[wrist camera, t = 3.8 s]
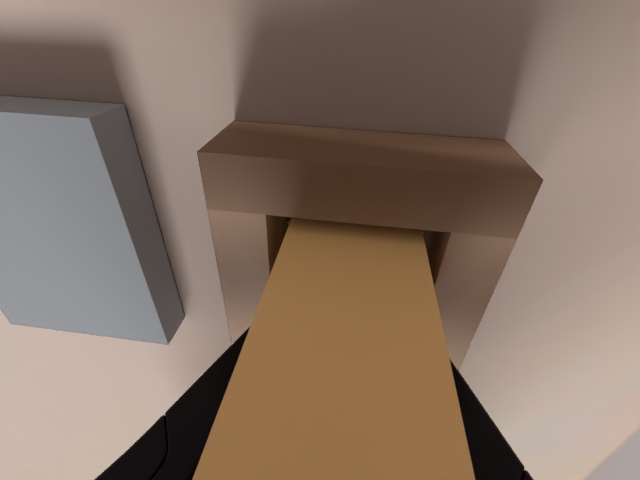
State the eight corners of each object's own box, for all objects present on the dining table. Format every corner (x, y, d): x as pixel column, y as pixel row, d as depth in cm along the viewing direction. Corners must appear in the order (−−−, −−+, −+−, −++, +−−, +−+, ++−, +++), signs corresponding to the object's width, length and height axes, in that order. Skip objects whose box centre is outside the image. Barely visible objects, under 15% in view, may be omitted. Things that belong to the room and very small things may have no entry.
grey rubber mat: (184, 317, 15) (168, 344, 14) (39, 298, 16) (11, 323, 14) (124, 104, 10) (89, 118, 9) (-90, 89, 10) (-151, 100, 9)
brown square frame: (433, 344, 14) (444, 402, 12) (256, 322, 15) (237, 373, 13) (505, 140, 9) (543, 179, 7) (233, 120, 10) (197, 151, 8)
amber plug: (392, 302, 13) (416, 687, 6) (302, 292, 13) (215, 646, 6) (415, 198, 10) (513, 659, 3) (302, 188, 11) (150, 587, 3)
